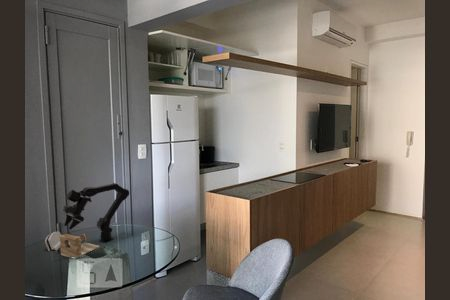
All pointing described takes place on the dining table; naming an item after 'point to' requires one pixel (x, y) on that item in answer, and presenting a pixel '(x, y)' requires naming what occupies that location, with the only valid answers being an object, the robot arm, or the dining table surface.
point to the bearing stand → (74, 246)
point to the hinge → (53, 241)
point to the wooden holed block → (82, 238)
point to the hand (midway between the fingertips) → (67, 227)
